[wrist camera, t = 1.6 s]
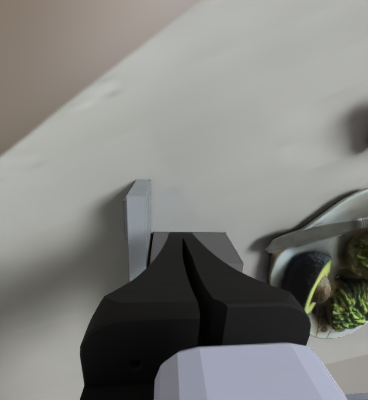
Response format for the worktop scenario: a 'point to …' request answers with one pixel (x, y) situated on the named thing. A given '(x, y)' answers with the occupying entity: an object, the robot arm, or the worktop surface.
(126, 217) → the side door
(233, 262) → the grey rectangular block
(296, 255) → the salad plate
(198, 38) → the worktop surface
